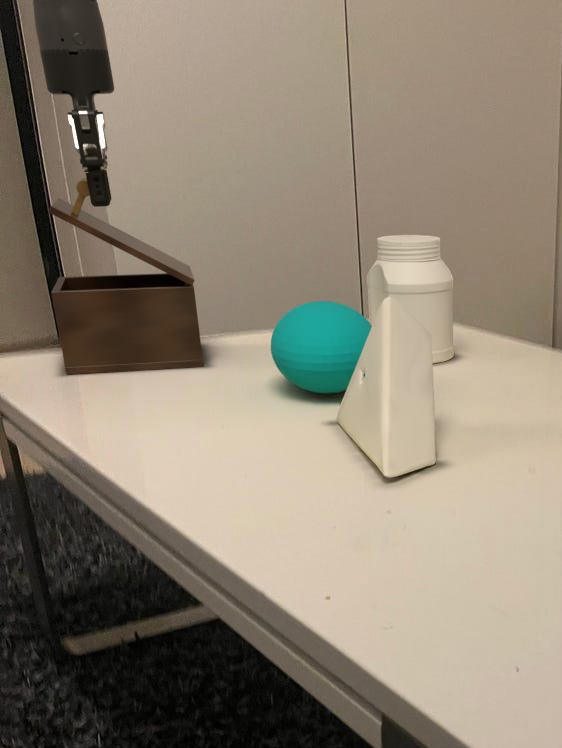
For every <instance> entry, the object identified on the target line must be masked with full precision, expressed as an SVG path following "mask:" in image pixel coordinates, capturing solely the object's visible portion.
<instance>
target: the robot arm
mask: <svg viewBox="0 0 562 748" xmlns="http://www.w3.org/2000/svg"><path fill="white" fill-rule="evenodd" d="M32 5H33V17H34V18H33V19H34V27H35V33H36V38H37V42H38V47H39V53H40V58H41V63H42V67H43V74H44V78H45V79H44V80H45V84H46V88H47V91H48V92H49V93H50V94H52V95H68V96H70V98H71V101H72V109H71V111H69V112H67V118H68V119H67V120H68V123H69V126H70V127H69V128H70V129H71V130H72V135H73V142H74V146H75V150H76V153H78V154H79V157H80V158H79V163H80V165H81V169H82V170H83V173H85V178H87V184H88V189H89V194H90V195H89V199H90V204H91V205H92V206H93V207H95V208H97V207H98V208H100V207H108V206H110V205H111V201H112V193H111V187H110V182H109V177H108V170H107V169H108V166H109V165H108V156H107V154H106V152H108V142H107V137H106V132H105V129H106V121H105V115H104V112H103V111H99V110H98V109H96V104H95V96H96V95H105V94H106V95H110V94H113V93H114V91H115V83H114V78H113V72H112V66H111V59H110V53H109V48H108V41H107V36H106V31H105V25H104V21H103V18H102V14H101V11H100V7H99V2H98V0H32Z"/></svg>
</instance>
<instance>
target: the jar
mask: <svg viewBox="0 0 562 748" xmlns="http://www.w3.org/2000/svg"><path fill="white" fill-rule="evenodd" d="M376 244H377V245H376V248H377V250H376V252H377V257H376V260H375V262H374V263H373V265H372V266H371V268H370V269H369V270H368V272H367V275H366V287H367V299H368V300H367V303H368V318H369V319H368V322H369V323H370V324H371V325H373V323H374V320H375V318H376V315H377V313H378V310H379V308H380V305H381V304H382V302H383V300H384V299H386V298H387V297H392V298H393V299H394V300H396V301H397V302H398V303H399V304H400V305H401V306H402V307H403V308H405V309H406V310H407V311H408V312H409V313H410V314H411V315H412V316H414V317H415V318H416V319H417V320H418V321H419V322H420V323H421V324H423V325H424V326H425V327H426V329H427V330H428V331H429V332H430V333H431V341H432V362H433V364H438V363H439V364H440V363H443V362H446V361H450V360H451V359H453V358H454V356H455V345H454V277H453V274H452V271H451V270H450V268H449V267H448V266H447V264H446V263H445V262H444V260H443V259H442V256H441V249H442V248H441V237H439V236H435V235H424V234H423V235H422V234H395V235H383V236H379V237H377V238H376Z"/></svg>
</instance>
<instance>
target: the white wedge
mask: <svg viewBox="0 0 562 748" xmlns="http://www.w3.org/2000/svg"><path fill="white" fill-rule="evenodd" d="M364 374H365V378H364ZM434 392H435V390H434V363H433V362H432V341H431V333H430V332H429V331H428V330H427V329H426V327H425V326H424V325H423V324H421V323H420V322H419V321H418V320H417V319H416V318H415V317H414V316H412V315H411V314H410V313H409V312H408V311H407V310H406V309H405V308H403V307H402V306H401V305H400V304H399V303H398V302H397V301H396V300H394V299H393V298H392V297H387V298H386V299H384V300H383V302H382V304H381V305H380V308H379V310H378V313H377V315H376V318H375V320H374V323H373V325H372V328H371V330H370V333H369V335H368V338H367V340H366V343H365V345H364V348H363V350H362V353H361V355H360V358H359V360H358V363H357V365H356V368H355V370H354V373H353V375H352V378H351V380H350V383H349V385H348V388H347V390H346V391H345V392H344V394H343V398H342V400H341V403H340V405H339V408H338V410H337V413H336V420H337V423H338V424H339V425H340V426H341V428H342V429H343V430H344V431H345V432H346V433H347V434H348V436H349V437H350V438H351V439H352V440H353V441H354V443H355V444H357V446H358V447H359V448H360V450H362V451H363V453H364V454H365V455H366V456H367V457H368V458H369V459H370V460H371V461H372V462H373V463H374V464H375V465H376V466H377V468H378V469H379V471H380V472H381V473H382V475H383V476H384V477H385V478H389V479H390V478H395V477H399V476H403V475H406V474H409V473H411V472H414V471H415V472H416V471H417V470H421V469H424V468H427V467H430V466H434V465H435V463H436V461H437V459H436V458H437V457H436V455H437V454H436V453H437V452H436V424H435V423H436V420H435V417H436V416H435V397H434V396H435V393H434Z"/></svg>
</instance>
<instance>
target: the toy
mask: <svg viewBox="0 0 562 748" xmlns="http://www.w3.org/2000/svg"><path fill="white" fill-rule="evenodd" d="M371 328H372V325H371V324H370V323H369V319H367V318H366V317H365V316H364V315H363V314H361V312H359V311H358V310H356V309H354V308H352V307H350V306H348V305H345V304H342V303H340V302H335V301H330V300H329V301H328V300H319V301H318V300H317V301H309V302H306V303H303V304H300V305H298V306H296V307H294V308H292V309H290V310H289V311H287V312H286V313H285V314H284V315H283V316H282V317H281V318H280V319H279V321H278V322H277V323H276V324H275V327H274V328H273V331H272V334H271V338H270V354H271V358H272V360H273V362H274V364H275V366H276V368H277V369H278V371H279V372H280V374H281V375H282V376H283V377H284V378H285V379H286V380H288V381H289V383H292V384H293V385H295V386H296V387H298V388H300V389H302V390H305V391H308V392H311V393H316V394H326V395H329V394H330V395H331V394H339V393H345V392H346V390H347V388H348V385H349V383H350V380H351V378H352V375H353V373H354V370H355V368H356V365H357V363H358V360H359V358H360V355H361V353H362V350H363V348H364V345H365V343H366V340H367V338H368V335H369V333H370V330H371ZM364 378H365V374H364Z"/></svg>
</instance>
